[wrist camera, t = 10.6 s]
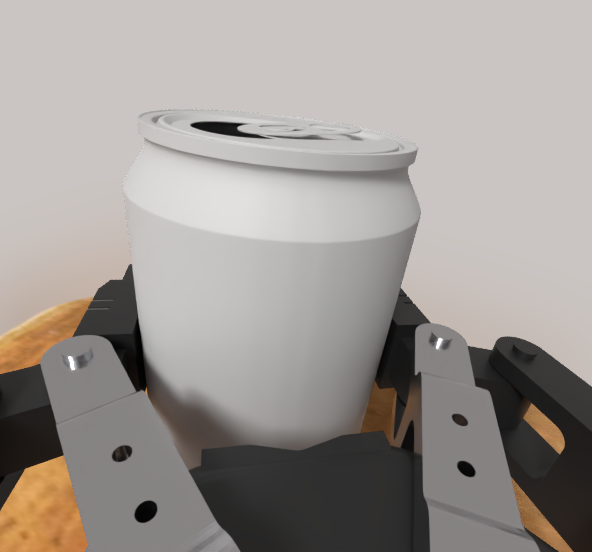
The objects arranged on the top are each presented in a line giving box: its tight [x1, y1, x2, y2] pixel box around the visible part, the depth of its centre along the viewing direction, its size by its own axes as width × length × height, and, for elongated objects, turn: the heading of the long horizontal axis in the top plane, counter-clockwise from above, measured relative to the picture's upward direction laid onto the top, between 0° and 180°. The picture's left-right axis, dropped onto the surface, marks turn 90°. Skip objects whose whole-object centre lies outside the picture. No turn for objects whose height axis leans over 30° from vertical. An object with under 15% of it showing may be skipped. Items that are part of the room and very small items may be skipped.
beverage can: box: [123, 109, 421, 470], centre depth 10 cm, size 6×6×12 cm
